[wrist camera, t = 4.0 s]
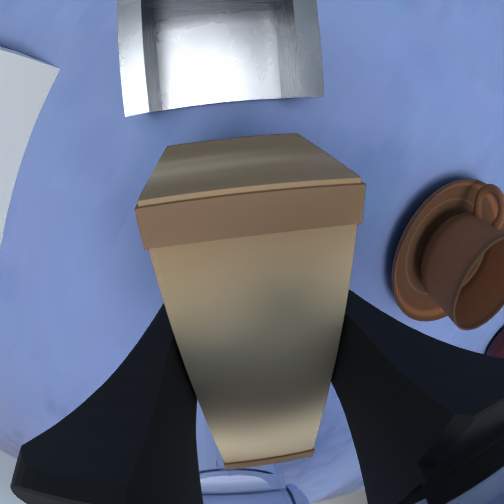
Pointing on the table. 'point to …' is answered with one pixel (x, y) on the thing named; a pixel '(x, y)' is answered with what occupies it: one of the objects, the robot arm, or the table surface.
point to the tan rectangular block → (254, 282)
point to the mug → (497, 345)
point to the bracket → (216, 52)
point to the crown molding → (18, 114)
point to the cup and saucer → (453, 256)
